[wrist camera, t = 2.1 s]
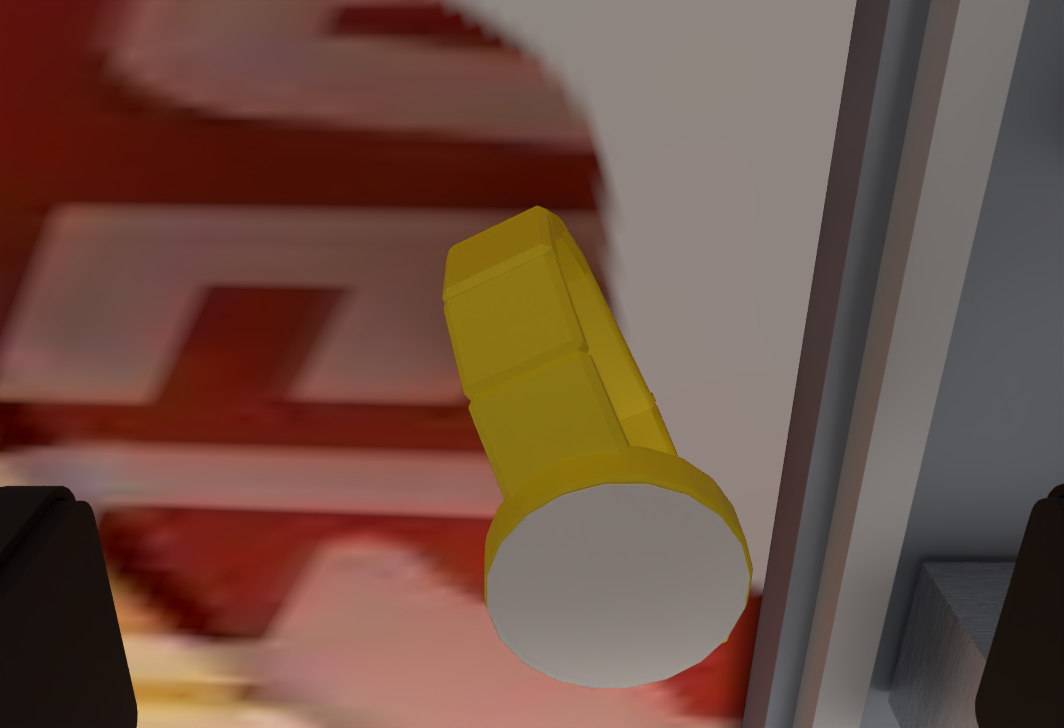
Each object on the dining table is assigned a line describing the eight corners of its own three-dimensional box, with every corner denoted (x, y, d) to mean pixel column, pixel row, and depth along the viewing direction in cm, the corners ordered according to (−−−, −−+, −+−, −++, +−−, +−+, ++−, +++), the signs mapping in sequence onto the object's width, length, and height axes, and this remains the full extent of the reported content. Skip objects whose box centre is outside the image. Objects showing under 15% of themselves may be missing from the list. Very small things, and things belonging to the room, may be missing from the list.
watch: (722, 443, 16) (838, 735, 10) (576, 503, 16) (617, 810, 11) (578, 132, 13) (638, 318, 8) (408, 216, 13) (356, 443, 8)
